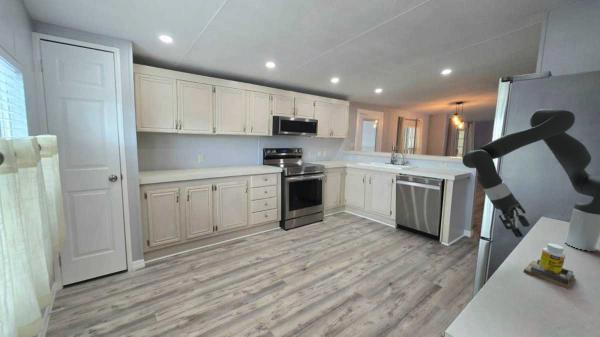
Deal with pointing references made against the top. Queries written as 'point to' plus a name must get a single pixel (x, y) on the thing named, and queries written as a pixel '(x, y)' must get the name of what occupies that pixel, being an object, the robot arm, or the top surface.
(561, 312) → the top surface
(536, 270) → the notched cradle board
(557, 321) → the top surface
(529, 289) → the top surface
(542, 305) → the top surface
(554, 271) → the supplement bottle
